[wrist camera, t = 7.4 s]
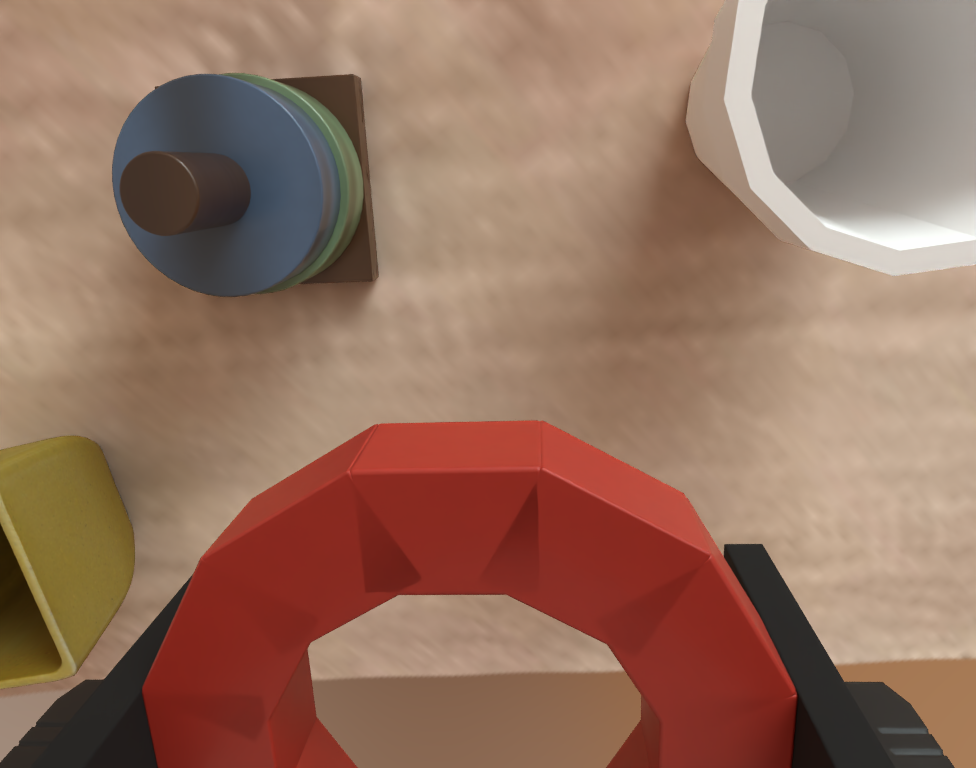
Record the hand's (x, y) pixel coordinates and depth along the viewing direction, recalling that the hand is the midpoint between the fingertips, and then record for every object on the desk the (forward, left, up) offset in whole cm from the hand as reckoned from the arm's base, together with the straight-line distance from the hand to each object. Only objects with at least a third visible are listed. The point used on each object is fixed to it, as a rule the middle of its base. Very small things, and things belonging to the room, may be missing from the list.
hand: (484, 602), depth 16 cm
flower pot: (+22, +5, -18) cm, 28 cm away
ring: (0, 0, +2) cm, 2 cm away
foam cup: (-10, -11, -18) cm, 23 cm away
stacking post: (+10, -9, -18) cm, 22 cm away
